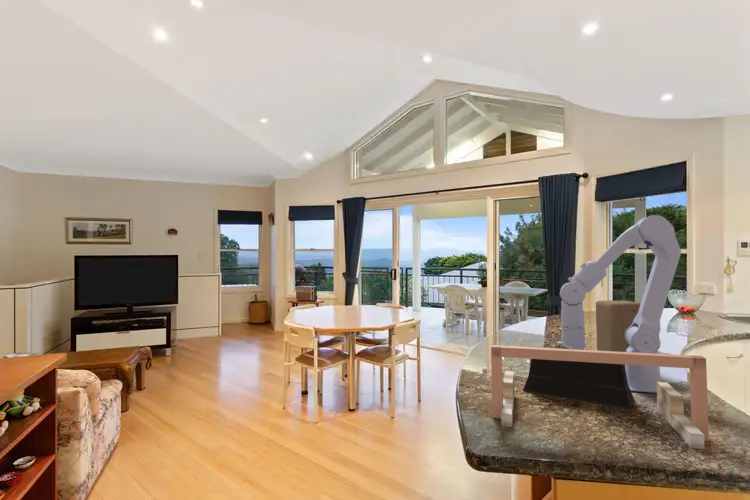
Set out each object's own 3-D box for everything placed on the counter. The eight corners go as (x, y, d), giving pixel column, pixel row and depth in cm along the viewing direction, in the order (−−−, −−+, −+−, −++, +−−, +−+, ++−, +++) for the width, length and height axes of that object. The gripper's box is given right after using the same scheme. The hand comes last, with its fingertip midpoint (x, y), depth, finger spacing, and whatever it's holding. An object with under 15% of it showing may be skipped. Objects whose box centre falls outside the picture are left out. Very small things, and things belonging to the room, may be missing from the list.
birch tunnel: (506, 395, 103) (505, 370, 103) (668, 410, 91) (667, 382, 92) (501, 425, 84) (500, 396, 84) (704, 449, 73) (703, 414, 73)
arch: (493, 414, 91) (491, 345, 91) (704, 436, 78) (701, 355, 78) (492, 417, 89) (491, 346, 89) (709, 441, 76) (706, 358, 76)
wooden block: (647, 371, 123) (645, 303, 123) (613, 371, 123) (611, 303, 123) (627, 362, 133) (625, 300, 133) (596, 363, 133) (594, 300, 133)
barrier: (522, 392, 106) (521, 352, 106) (532, 383, 113) (531, 346, 113) (630, 411, 92) (628, 365, 92) (634, 400, 99) (633, 357, 99)
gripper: (555, 322, 121) (556, 369, 121) (558, 330, 108) (560, 383, 107) (582, 323, 119) (583, 371, 119) (589, 331, 105) (590, 385, 105)
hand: (574, 377), depth 113 cm, fingers open, 7 cm apart
